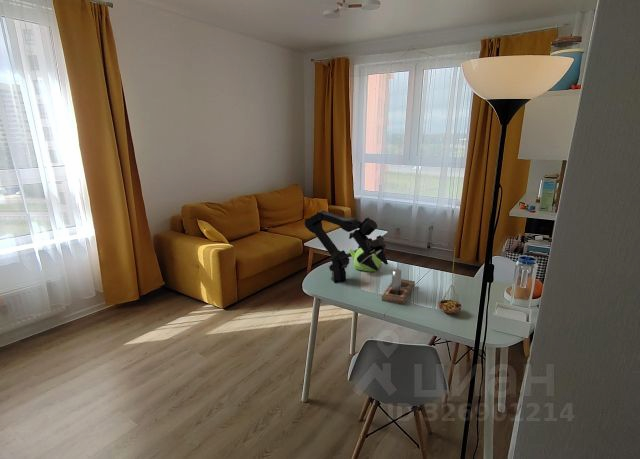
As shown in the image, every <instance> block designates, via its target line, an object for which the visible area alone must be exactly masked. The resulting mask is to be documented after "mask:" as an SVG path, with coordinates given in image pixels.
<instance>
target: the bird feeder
mask: <svg viewBox="0 0 640 459" xmlns="http://www.w3.org/2000/svg"><path fill="white" fill-rule="evenodd" d="M453 251H454V253H453V262H452V270H454V268H455V267H454V266H455V257H456V256H455V255H456V247H454V250H453ZM453 279H454V271H452V274H451V282H453ZM448 288H449V289H448V290H447V292H446V294H445V296H443V298H442V299H441V300H440V301H439V303H438V308H439V309H440V310H441V311H442V312H445V313H447V314H456V313H458V312H460V311H461V310H462V304H461V302H460V301H459V299H458V297H457V294H456V291H455V288H454V286H453V283H451V284H450V287H448ZM452 289H453V293H454V294H455V295H454V296H455V297H456V300H452V299H451V295H452V294H451V293H452ZM448 293H449V297H448V299H446V297H447V295H448Z"/></svg>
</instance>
